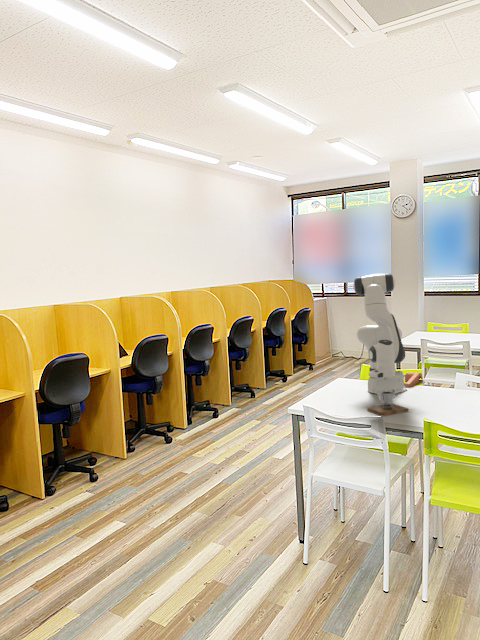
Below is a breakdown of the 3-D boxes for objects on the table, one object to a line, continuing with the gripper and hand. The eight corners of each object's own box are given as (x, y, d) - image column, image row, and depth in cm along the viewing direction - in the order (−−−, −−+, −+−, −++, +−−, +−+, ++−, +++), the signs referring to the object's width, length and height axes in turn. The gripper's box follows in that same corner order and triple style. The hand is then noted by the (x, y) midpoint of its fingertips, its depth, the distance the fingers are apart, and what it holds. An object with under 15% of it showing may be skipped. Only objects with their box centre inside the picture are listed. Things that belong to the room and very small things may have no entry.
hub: (387, 400, 250) (387, 390, 250) (394, 402, 245) (394, 393, 245) (378, 401, 249) (378, 392, 248) (385, 404, 243) (385, 394, 243)
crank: (410, 382, 309) (409, 370, 309) (422, 384, 304) (422, 371, 303) (396, 389, 294) (396, 376, 294) (409, 390, 289) (409, 377, 288)
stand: (392, 406, 256) (392, 392, 255) (408, 411, 245) (407, 396, 244) (367, 410, 250) (366, 396, 250) (382, 415, 239) (381, 400, 238)
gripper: (398, 369, 252) (399, 395, 253) (365, 373, 245) (366, 400, 246) (406, 371, 246) (407, 397, 247) (373, 375, 239) (373, 402, 240)
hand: (386, 399), depth 247 cm, fingers closed on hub, 6 cm apart
